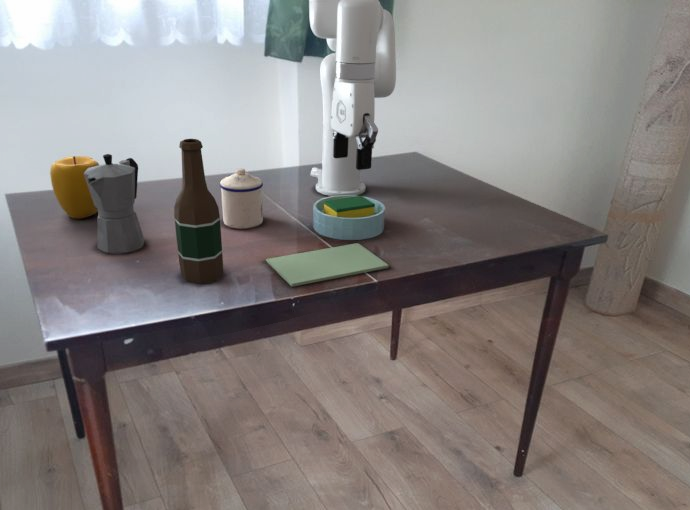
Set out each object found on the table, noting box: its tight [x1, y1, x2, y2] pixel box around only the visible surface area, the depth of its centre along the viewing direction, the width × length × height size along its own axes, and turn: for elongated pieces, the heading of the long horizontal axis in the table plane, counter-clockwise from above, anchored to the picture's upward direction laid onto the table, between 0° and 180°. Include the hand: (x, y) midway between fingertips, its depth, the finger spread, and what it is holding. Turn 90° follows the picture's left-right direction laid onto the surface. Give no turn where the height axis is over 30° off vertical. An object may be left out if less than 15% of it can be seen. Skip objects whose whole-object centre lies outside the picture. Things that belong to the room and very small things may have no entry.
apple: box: [49, 155, 100, 220], centre depth 137 cm, size 11×11×13 cm
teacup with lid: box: [219, 167, 264, 230], centre depth 137 cm, size 12×9×12 cm
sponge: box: [324, 195, 375, 218], centre depth 135 cm, size 9×6×6 cm, turn 116°
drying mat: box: [266, 242, 390, 287], centre depth 120 cm, size 20×12×1 cm, turn 116°
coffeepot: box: [84, 153, 145, 255], centre depth 123 cm, size 15×9×18 cm, turn 162°
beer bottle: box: [173, 138, 224, 285], centre depth 109 cm, size 8×8×24 cm
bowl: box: [312, 195, 386, 241], centre depth 135 cm, size 15×15×5 cm
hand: (351, 163), depth 129 cm, fingers open, 9 cm apart
